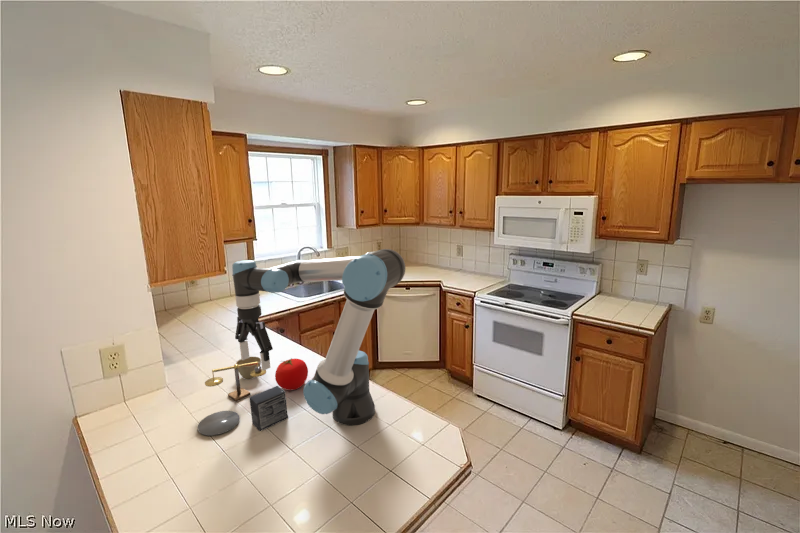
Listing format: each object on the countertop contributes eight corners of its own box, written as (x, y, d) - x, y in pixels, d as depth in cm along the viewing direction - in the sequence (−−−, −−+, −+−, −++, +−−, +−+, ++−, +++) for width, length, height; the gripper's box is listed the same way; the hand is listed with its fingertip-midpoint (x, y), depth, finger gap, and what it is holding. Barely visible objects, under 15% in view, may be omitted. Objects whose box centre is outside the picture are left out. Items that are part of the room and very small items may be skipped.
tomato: (315, 385, 155) (314, 359, 153) (285, 399, 146) (283, 371, 143) (299, 375, 164) (297, 351, 161) (269, 388, 154) (267, 362, 152)
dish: (247, 422, 131) (246, 419, 131) (209, 442, 121) (208, 438, 121) (228, 409, 139) (227, 406, 139) (191, 427, 129) (190, 423, 129)
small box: (279, 410, 138) (277, 384, 136) (288, 418, 134) (286, 391, 131) (251, 423, 131) (248, 396, 129) (259, 432, 126) (256, 403, 124)
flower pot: (253, 383, 158) (252, 367, 156) (232, 381, 160) (230, 365, 158) (266, 372, 167) (265, 357, 166) (246, 370, 169) (244, 355, 168)
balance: (270, 385, 156) (267, 352, 153) (213, 412, 138) (208, 375, 134) (262, 381, 159) (258, 349, 156) (205, 407, 141) (200, 370, 138)
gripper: (279, 309, 124) (285, 369, 128) (240, 297, 140) (247, 351, 144) (258, 315, 119) (265, 377, 123) (220, 302, 134) (227, 358, 138)
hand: (255, 363), depth 133 cm, fingers open, 13 cm apart
